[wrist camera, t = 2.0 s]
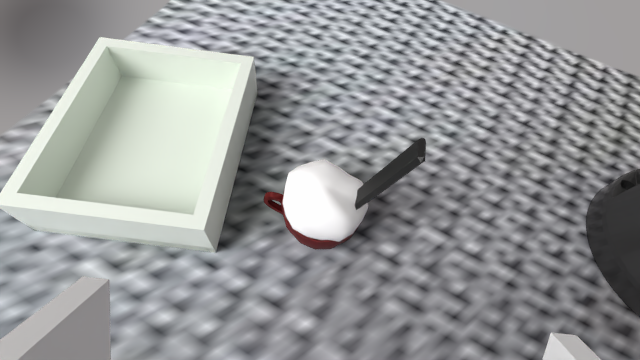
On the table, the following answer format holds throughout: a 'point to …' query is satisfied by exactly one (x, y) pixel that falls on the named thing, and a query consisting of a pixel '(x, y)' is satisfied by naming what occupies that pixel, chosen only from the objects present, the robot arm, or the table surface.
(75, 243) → the table surface
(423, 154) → the cocoa
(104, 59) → the bin
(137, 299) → the table surface
